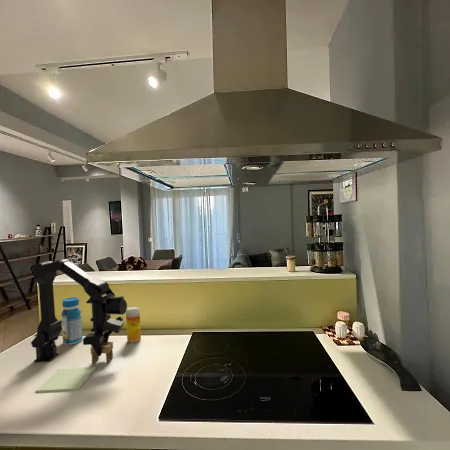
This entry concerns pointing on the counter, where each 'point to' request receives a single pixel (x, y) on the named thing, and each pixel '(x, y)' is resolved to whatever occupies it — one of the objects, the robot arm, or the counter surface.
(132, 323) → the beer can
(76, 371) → the sage board
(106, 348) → the walnut stool
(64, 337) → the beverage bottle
